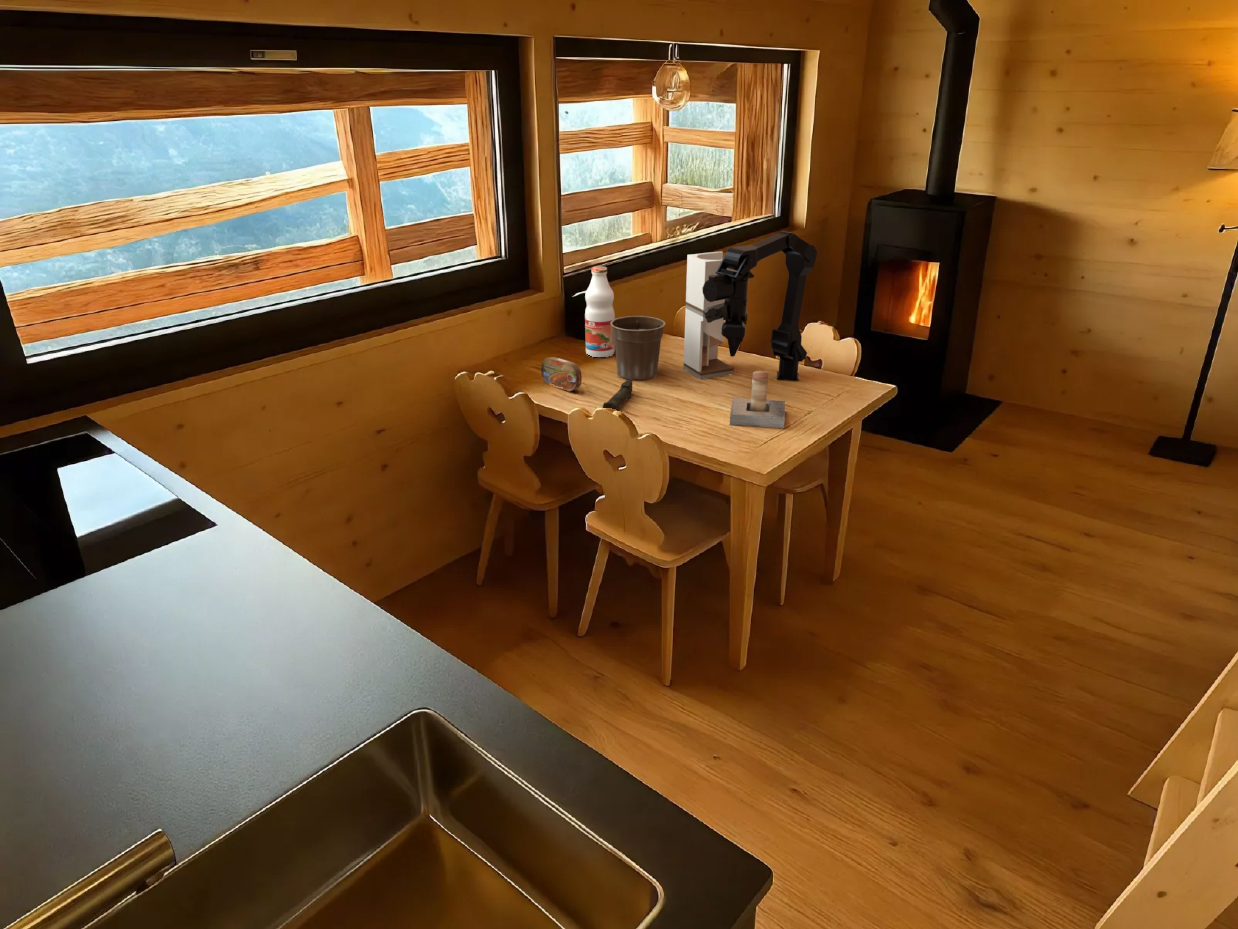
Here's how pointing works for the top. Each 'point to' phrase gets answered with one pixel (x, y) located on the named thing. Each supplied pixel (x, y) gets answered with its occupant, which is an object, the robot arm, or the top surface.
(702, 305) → the white tower stand
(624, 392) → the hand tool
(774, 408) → the square hole block
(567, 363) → the tin
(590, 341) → the fruit juice
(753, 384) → the beech pin
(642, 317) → the plant pot
